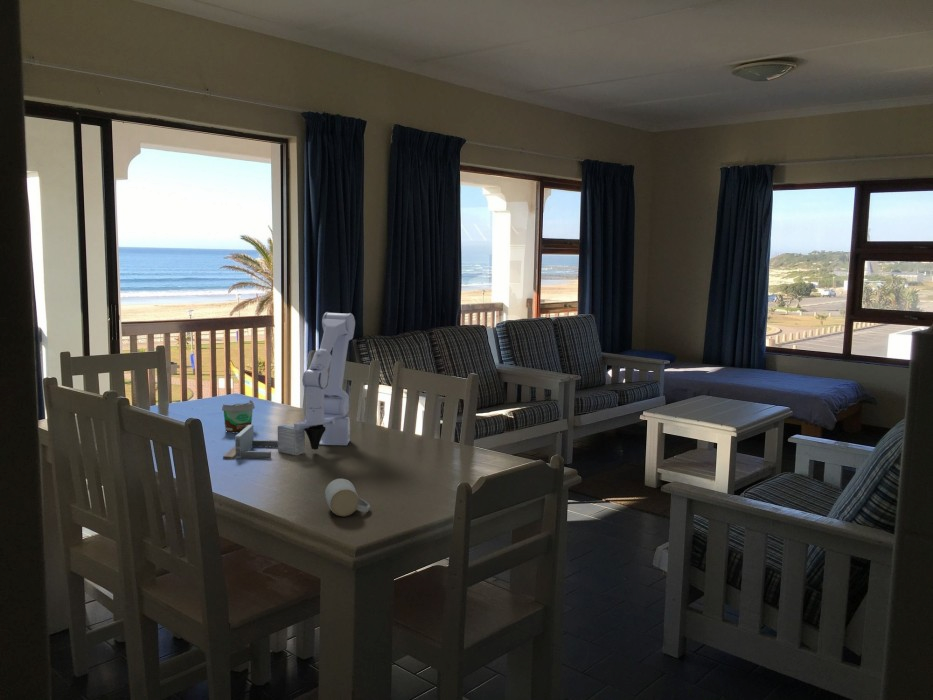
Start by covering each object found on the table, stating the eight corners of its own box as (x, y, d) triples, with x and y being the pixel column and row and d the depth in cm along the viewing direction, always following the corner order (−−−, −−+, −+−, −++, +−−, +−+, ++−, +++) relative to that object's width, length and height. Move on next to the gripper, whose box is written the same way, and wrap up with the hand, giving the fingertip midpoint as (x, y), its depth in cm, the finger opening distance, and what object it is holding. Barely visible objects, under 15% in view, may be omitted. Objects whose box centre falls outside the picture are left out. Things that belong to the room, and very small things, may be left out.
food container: (232, 435, 260) (232, 407, 259) (222, 432, 264) (221, 404, 263) (261, 429, 270) (261, 402, 269) (251, 427, 274) (251, 400, 273)
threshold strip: (248, 444, 248) (248, 442, 248) (233, 459, 231) (232, 456, 231) (239, 444, 248) (239, 442, 248) (223, 458, 231) (223, 456, 230)
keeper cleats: (280, 446, 247) (280, 440, 247) (270, 458, 232) (270, 452, 232) (253, 445, 247) (253, 440, 247) (240, 458, 232) (240, 451, 232)
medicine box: (305, 453, 240) (305, 426, 239) (295, 456, 236) (295, 429, 235) (287, 449, 244) (287, 423, 243) (277, 452, 240) (277, 425, 239)
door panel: (253, 445, 248) (253, 424, 247) (239, 459, 231) (239, 437, 230) (248, 445, 248) (248, 424, 247) (234, 459, 231) (234, 436, 230)
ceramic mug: (329, 519, 181) (330, 488, 180) (324, 508, 188) (325, 478, 187) (373, 516, 184) (374, 485, 183) (366, 505, 192) (366, 476, 191)
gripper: (325, 402, 246) (325, 442, 248) (288, 407, 236) (288, 450, 237) (339, 405, 242) (338, 446, 243) (301, 411, 231) (301, 454, 233)
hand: (314, 448), depth 240 cm, fingers closed
